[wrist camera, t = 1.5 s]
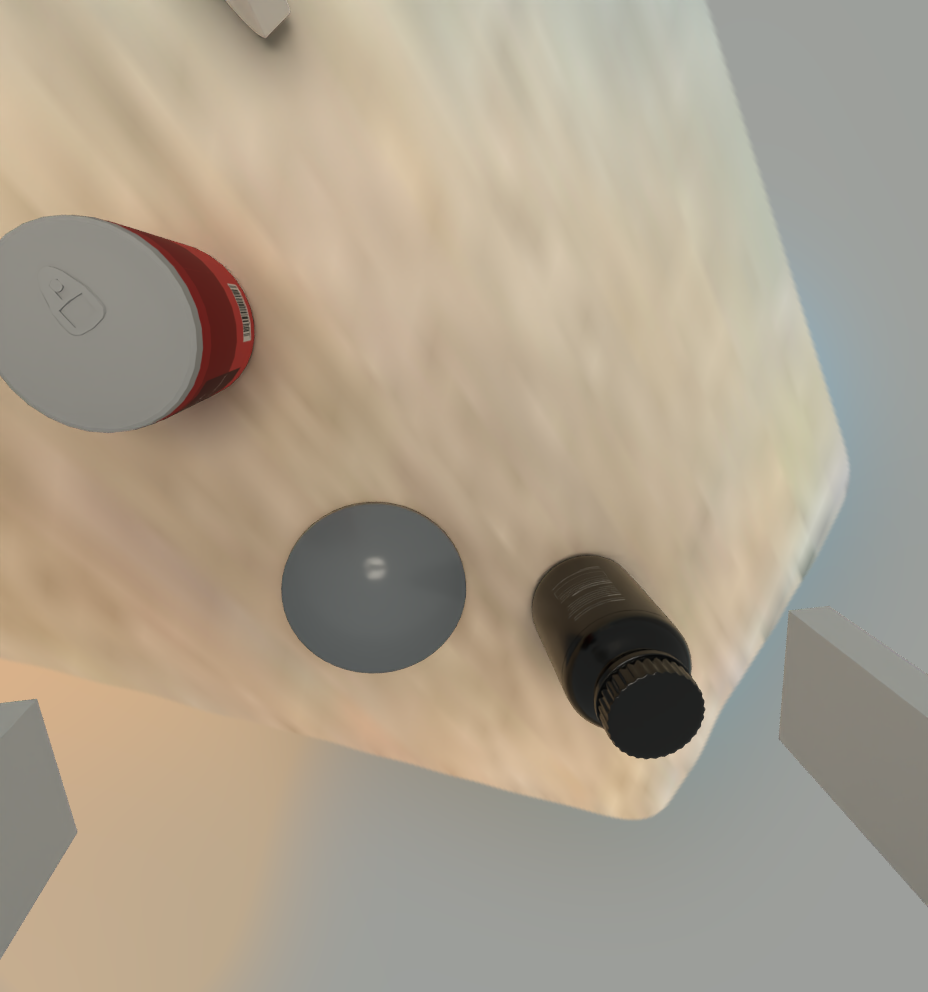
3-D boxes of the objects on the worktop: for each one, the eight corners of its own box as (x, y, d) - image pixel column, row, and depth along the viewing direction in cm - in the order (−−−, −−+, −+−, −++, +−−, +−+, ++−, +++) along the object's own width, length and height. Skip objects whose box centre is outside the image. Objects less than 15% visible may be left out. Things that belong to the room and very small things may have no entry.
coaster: (293, 675, 40) (292, 680, 40) (272, 507, 37) (271, 511, 37) (467, 660, 41) (468, 665, 41) (461, 496, 38) (463, 499, 38)
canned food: (155, 209, 33) (40, 162, 22) (288, 313, 35) (241, 316, 24) (73, 331, 34) (-73, 342, 23) (207, 425, 36) (128, 473, 25)
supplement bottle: (520, 644, 42) (567, 773, 30) (541, 545, 40) (600, 642, 28) (621, 654, 42) (704, 783, 31) (646, 558, 41) (744, 657, 29)
